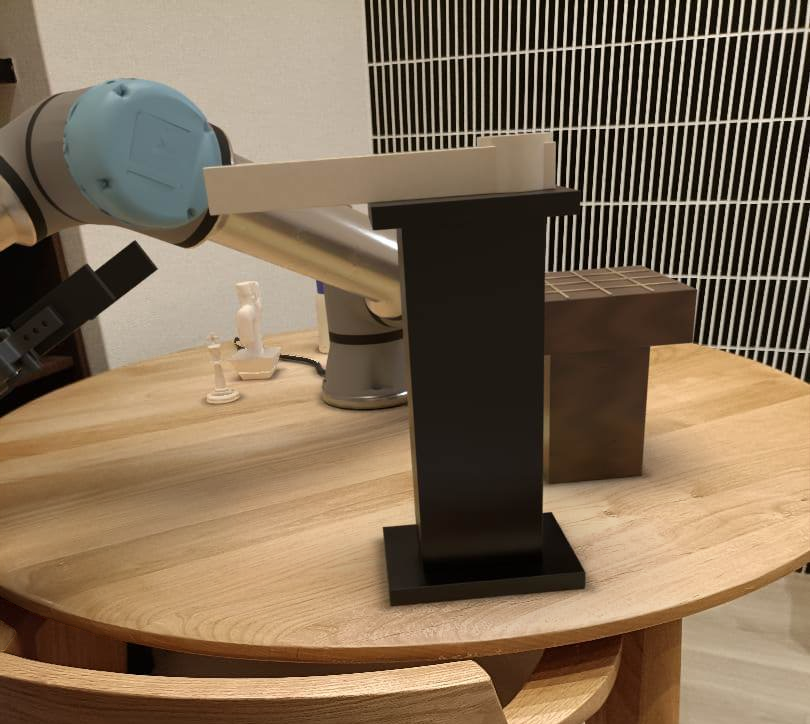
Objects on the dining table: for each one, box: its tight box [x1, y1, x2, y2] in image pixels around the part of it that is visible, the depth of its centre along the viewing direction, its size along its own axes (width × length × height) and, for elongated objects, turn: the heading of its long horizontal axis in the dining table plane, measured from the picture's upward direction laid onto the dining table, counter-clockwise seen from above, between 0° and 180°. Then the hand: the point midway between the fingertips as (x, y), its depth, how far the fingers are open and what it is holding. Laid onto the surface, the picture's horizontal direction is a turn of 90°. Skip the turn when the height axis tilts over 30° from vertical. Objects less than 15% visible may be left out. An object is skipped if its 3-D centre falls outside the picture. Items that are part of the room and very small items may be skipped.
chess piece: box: [206, 331, 240, 405], centre depth 122 cm, size 5×5×10 cm
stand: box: [367, 184, 587, 607], centre depth 65 cm, size 16×12×30 cm
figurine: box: [228, 280, 283, 381], centre depth 132 cm, size 7×9×15 cm
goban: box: [543, 264, 698, 484], centre depth 87 cm, size 16×16×20 cm
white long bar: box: [203, 131, 557, 215], centre depth 58 cm, size 24×5×4 cm, turn 94°
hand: (126, 266), depth 59 cm, fingers open, 13 cm apart
